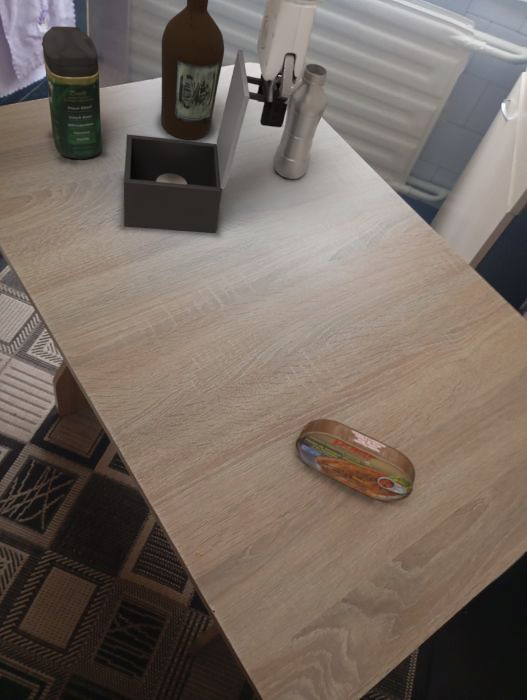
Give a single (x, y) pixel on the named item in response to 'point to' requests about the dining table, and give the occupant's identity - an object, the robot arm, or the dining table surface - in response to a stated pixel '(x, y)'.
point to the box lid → (236, 114)
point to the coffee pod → (171, 178)
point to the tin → (356, 460)
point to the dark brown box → (171, 184)
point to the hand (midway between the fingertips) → (269, 112)
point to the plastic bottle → (301, 123)
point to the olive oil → (190, 71)
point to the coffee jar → (73, 91)
